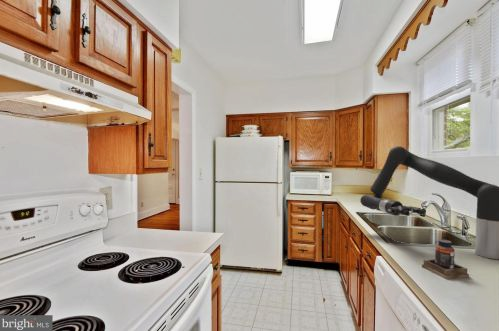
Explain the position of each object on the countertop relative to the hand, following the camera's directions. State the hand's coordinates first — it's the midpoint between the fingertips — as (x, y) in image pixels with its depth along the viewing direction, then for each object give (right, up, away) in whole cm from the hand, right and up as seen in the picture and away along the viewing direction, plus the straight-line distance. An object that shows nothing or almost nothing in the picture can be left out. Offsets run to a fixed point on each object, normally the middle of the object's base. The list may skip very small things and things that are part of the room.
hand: (416, 213), depth 113 cm
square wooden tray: (0, -20, -16) cm, 26 cm away
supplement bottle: (0, -19, -16) cm, 25 cm away
